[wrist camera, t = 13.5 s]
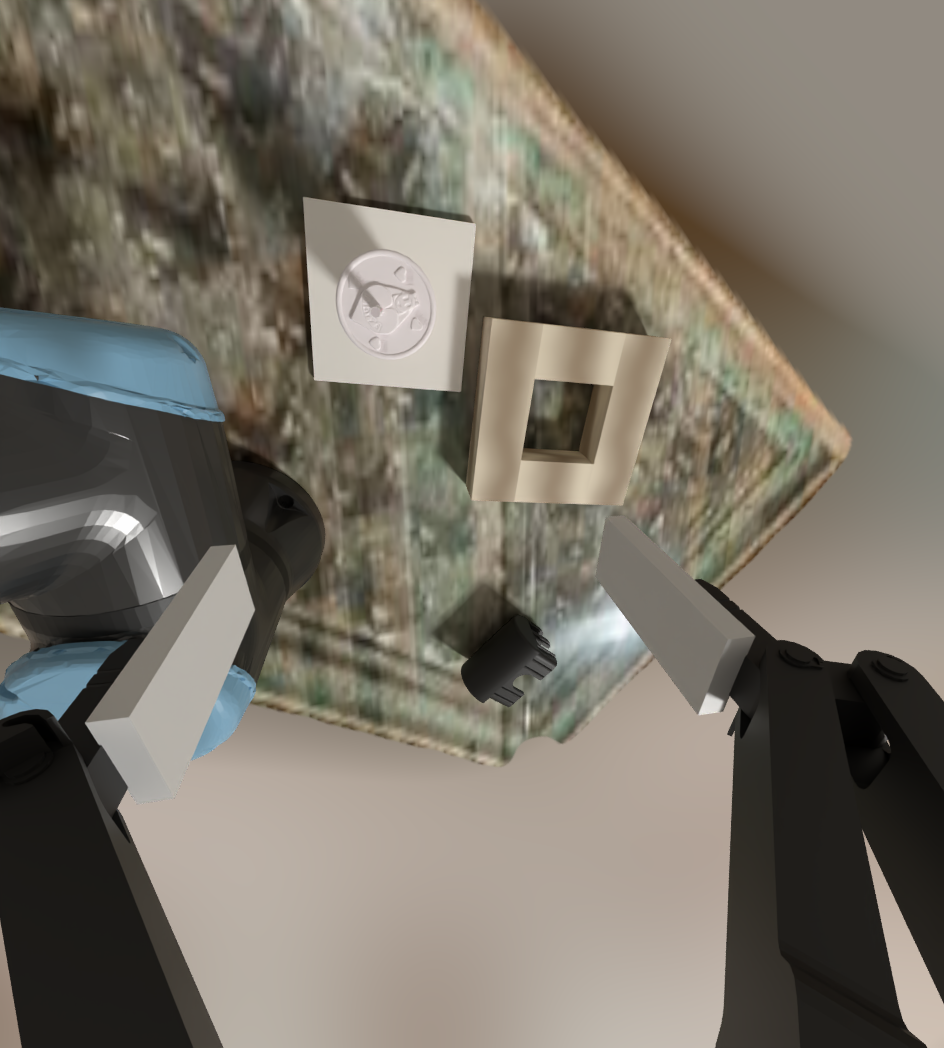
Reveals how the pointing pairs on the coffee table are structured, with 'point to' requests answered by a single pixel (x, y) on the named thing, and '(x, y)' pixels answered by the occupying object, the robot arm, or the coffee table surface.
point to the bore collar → (611, 424)
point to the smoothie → (385, 304)
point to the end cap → (508, 662)
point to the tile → (431, 246)
